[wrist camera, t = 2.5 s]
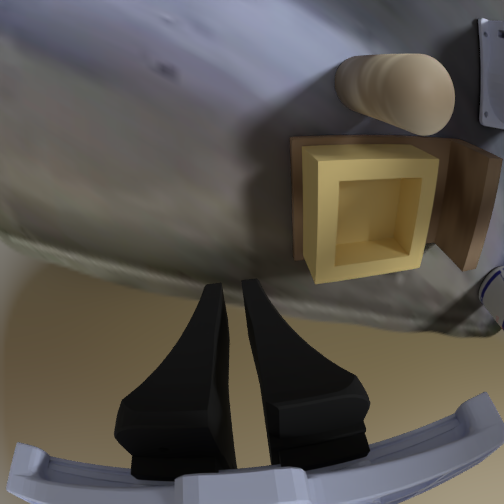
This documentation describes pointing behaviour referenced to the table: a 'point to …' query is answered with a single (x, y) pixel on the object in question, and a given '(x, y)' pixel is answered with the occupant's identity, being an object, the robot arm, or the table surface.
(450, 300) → the table surface
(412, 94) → the birch dowel
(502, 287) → the energy drink
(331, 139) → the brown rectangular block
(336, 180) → the socket block
